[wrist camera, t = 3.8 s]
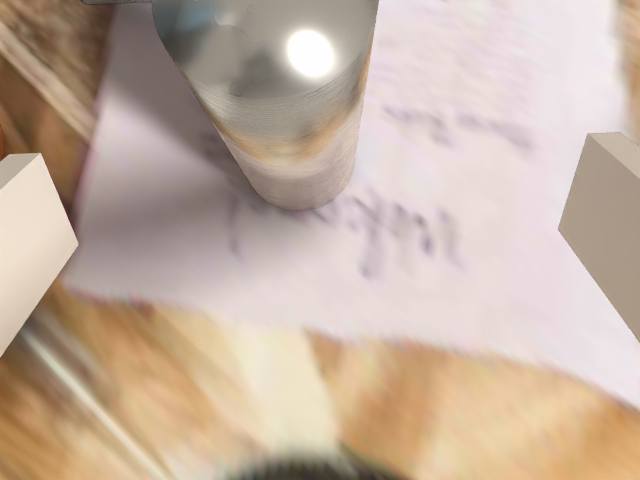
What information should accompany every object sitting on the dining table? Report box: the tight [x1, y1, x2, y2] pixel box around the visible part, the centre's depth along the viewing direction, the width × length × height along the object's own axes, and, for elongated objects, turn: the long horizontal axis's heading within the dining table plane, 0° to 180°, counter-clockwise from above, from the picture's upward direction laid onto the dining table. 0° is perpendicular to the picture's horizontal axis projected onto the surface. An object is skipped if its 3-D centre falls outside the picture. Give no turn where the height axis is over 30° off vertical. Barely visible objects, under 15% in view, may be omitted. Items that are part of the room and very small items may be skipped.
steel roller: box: [152, 0, 379, 211], centre depth 16 cm, size 5×5×11 cm
